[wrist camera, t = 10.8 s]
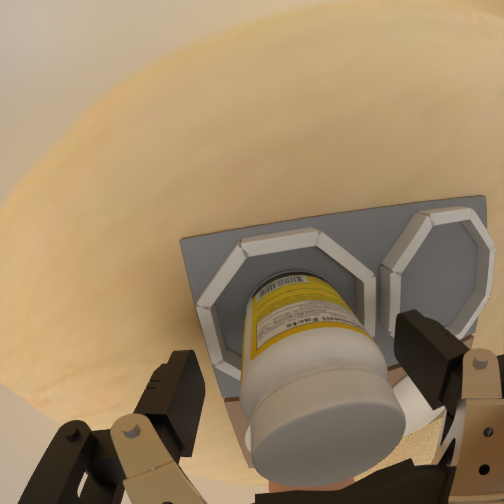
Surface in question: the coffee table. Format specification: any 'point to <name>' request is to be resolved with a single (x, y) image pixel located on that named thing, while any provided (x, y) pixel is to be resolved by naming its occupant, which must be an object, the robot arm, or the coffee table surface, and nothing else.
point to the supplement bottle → (313, 385)
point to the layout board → (348, 284)
